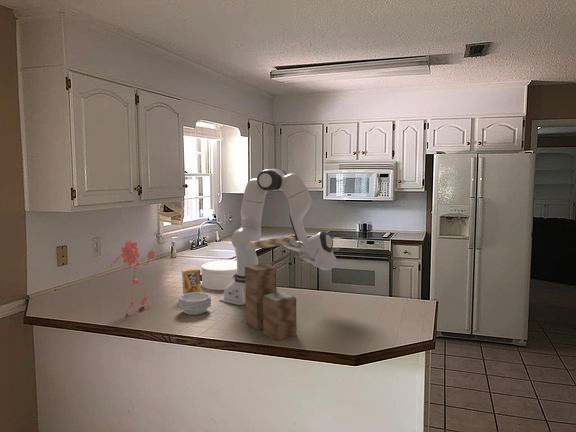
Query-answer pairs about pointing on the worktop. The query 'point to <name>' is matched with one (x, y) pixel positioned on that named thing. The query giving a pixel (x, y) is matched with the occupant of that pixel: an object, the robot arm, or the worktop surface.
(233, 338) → the worktop surface
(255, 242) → the beech bar
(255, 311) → the tall stand
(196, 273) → the candy box
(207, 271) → the plate stack
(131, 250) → the pink flowering sprig
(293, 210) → the robot arm
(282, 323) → the low stand
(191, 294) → the paper bowls
